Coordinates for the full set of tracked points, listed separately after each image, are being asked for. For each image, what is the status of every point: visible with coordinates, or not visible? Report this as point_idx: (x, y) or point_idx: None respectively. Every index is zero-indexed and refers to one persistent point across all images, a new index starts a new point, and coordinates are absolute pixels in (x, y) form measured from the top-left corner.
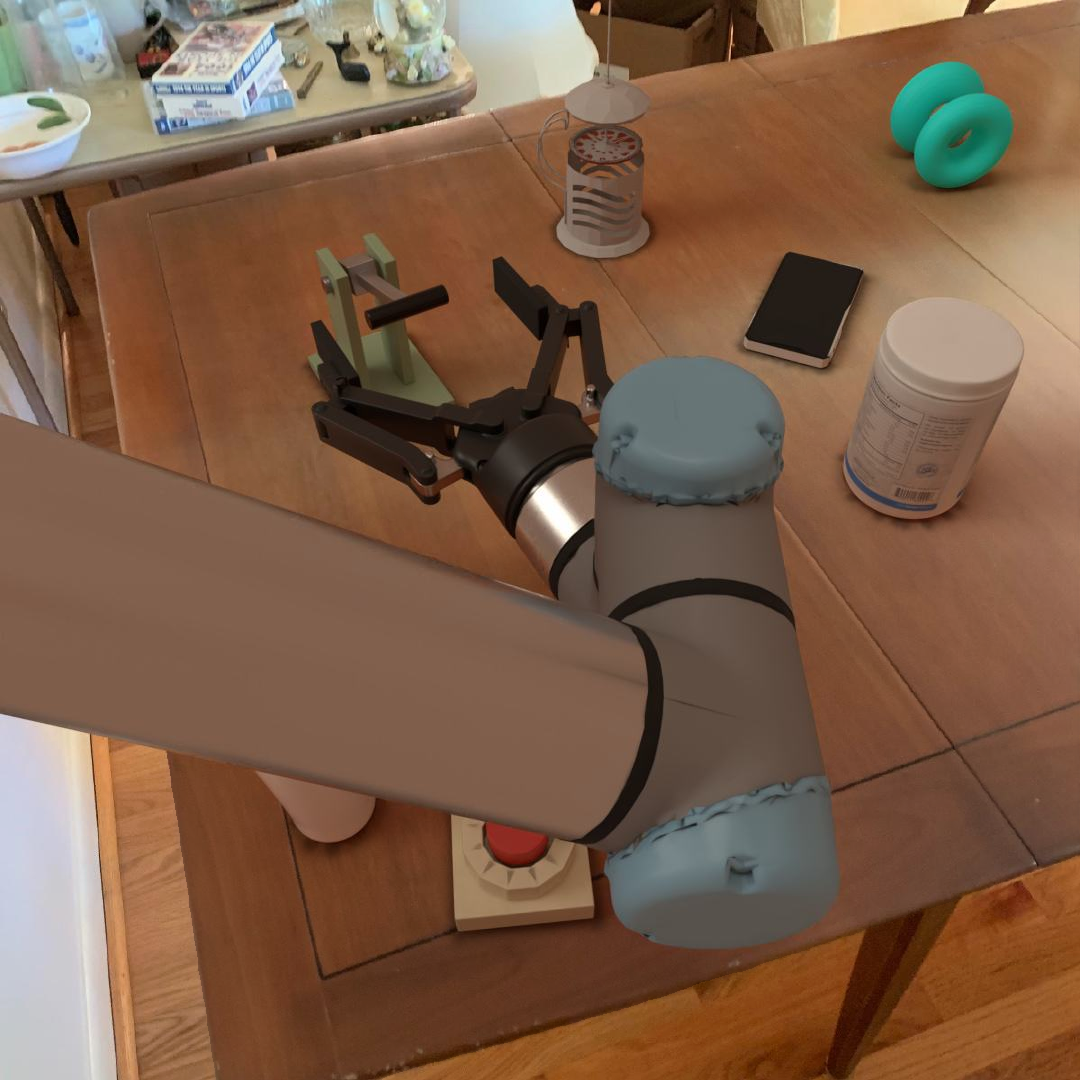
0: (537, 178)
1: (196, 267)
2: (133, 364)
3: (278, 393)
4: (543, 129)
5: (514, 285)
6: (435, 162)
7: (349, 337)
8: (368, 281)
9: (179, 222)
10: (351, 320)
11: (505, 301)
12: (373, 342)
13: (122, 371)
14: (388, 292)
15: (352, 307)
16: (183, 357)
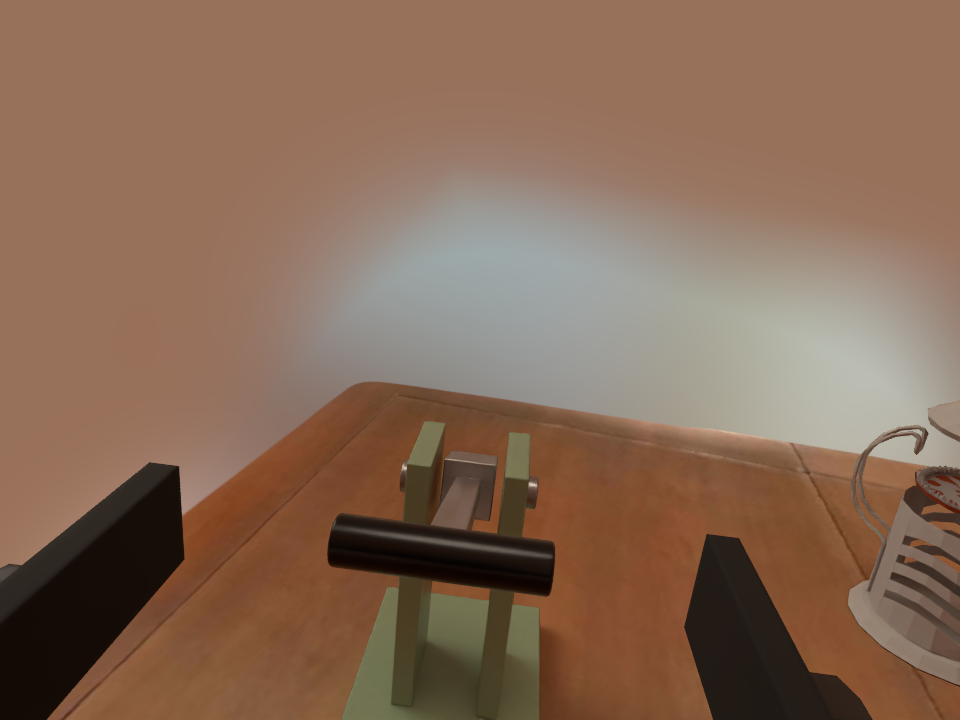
0: (833, 521)
1: (387, 445)
2: (225, 498)
3: (313, 617)
4: (876, 441)
5: (747, 637)
6: (704, 458)
7: (400, 579)
8: (451, 488)
9: (414, 408)
10: None
11: (702, 672)
12: (485, 615)
13: (207, 499)
14: (445, 511)
15: None
16: (274, 516)
